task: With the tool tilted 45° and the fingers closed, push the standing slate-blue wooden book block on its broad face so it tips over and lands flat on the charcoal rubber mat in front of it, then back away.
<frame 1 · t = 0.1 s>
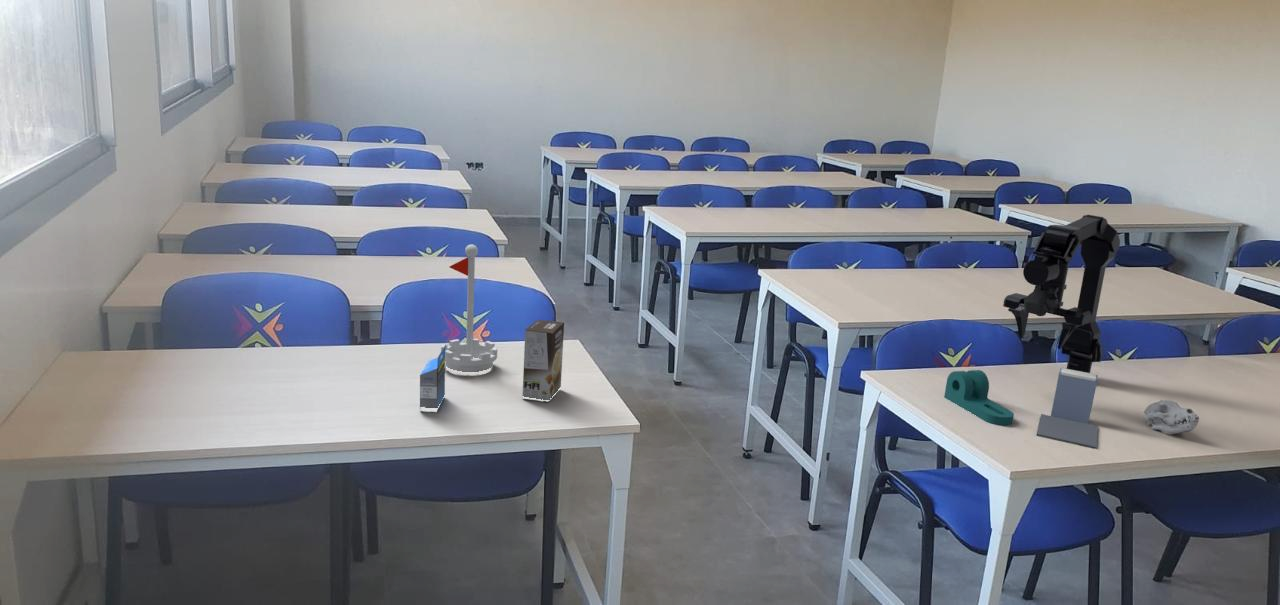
hand: (1040, 343, 222), 15 cm above the table, tool pointing down, fingers open, 9 cm apart
label tape cartridge: (432, 405, 198), on the table
bracket: (979, 412, 217), on the table
mat: (1067, 431, 208), on the table
skull: (1165, 432, 213), on the table
book block: (1069, 418, 216), on the table
coffee box: (541, 395, 208), on the table
flag stand: (469, 369, 221), on the table
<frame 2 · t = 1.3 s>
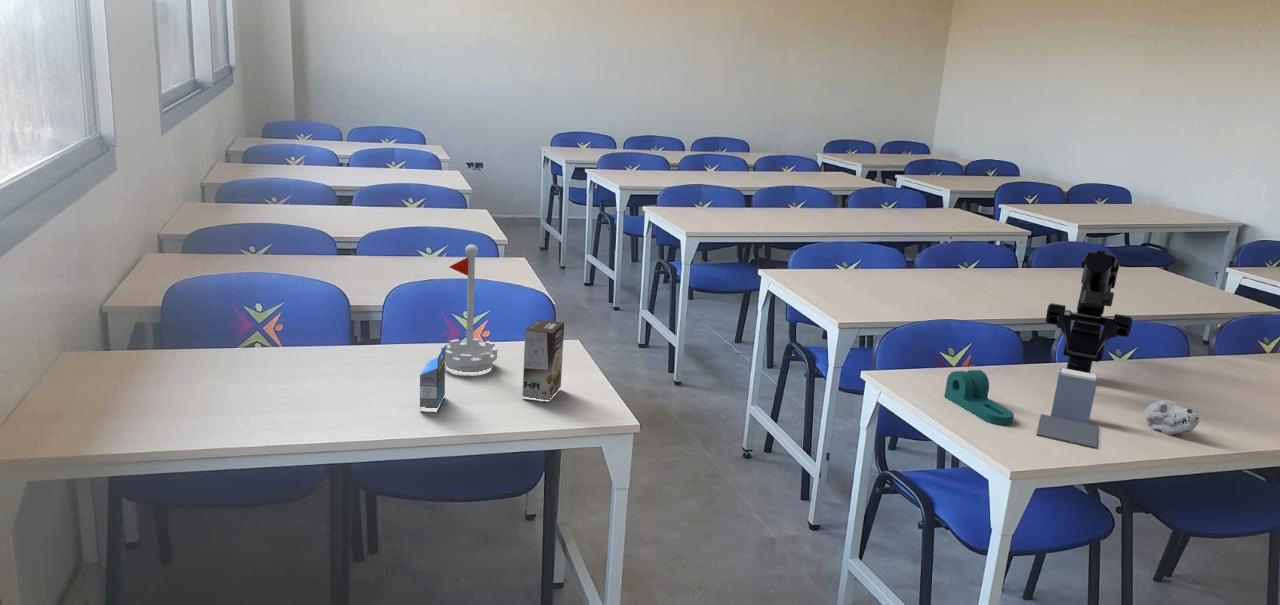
hand: (1082, 349, 224), 14 cm above the table, tool tilted 45°, fingers open, 6 cm apart
nothing on the table moved.
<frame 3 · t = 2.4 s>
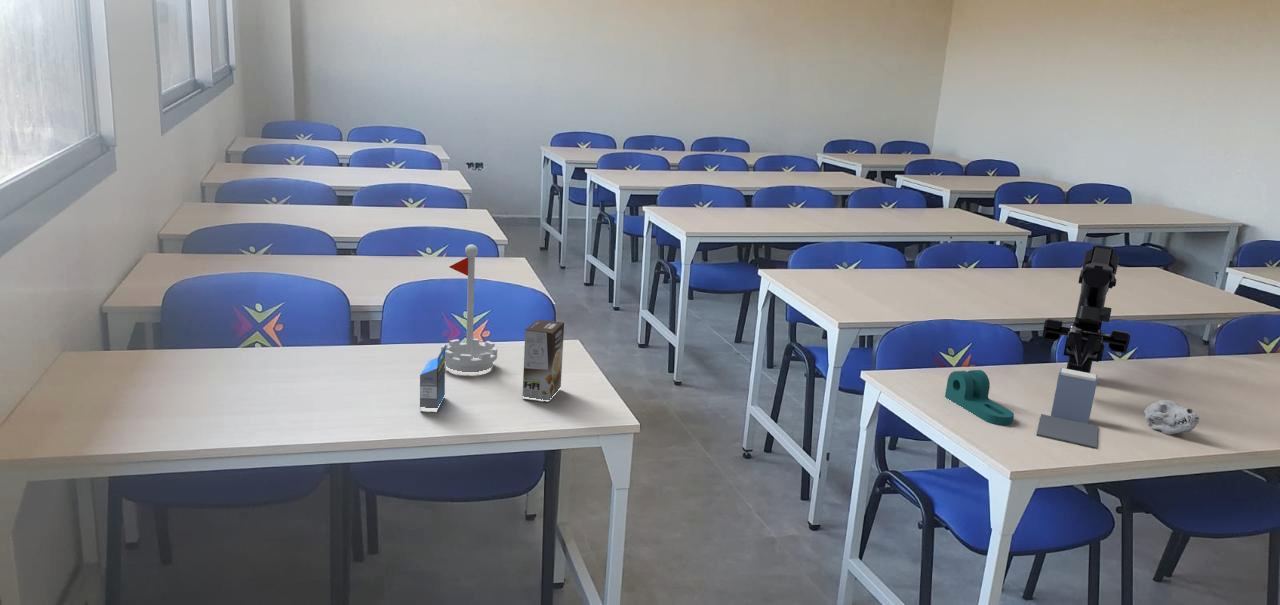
hand: (1079, 365, 220), 11 cm above the table, tool tilted 45°, fingers closed
nothing on the table moved.
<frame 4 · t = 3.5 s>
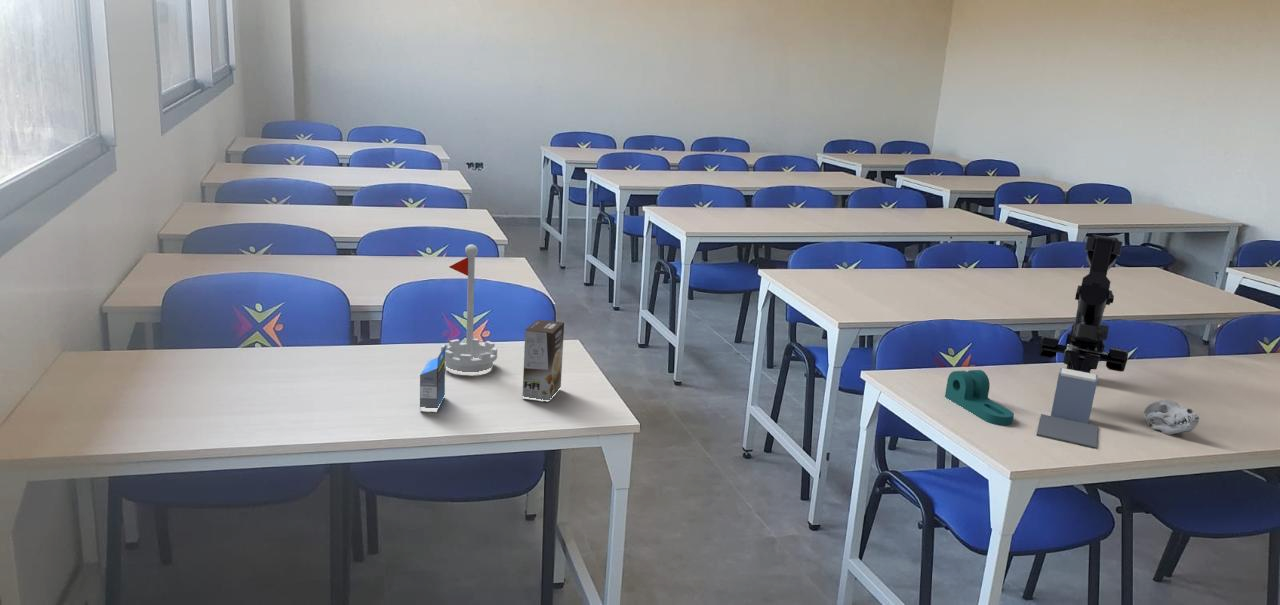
hand: (1076, 384, 216), 8 cm above the table, tool tilted 45°, fingers closed, pressing on book block
book block: (1069, 417, 216), on the table, touching gripper
everything else where it was.
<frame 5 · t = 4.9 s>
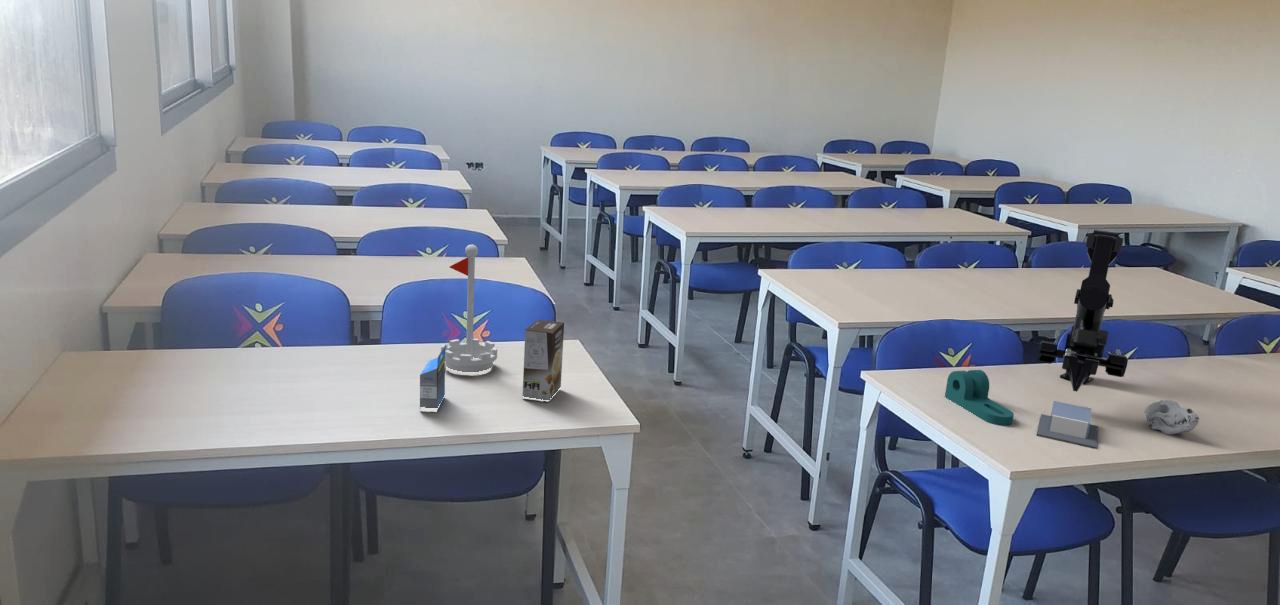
hand: (1075, 390, 212), 8 cm above the table, tool tilted 45°, fingers closed
book block: (1071, 411, 214), point 2 cm above the table, tilted 90°, touching mat
everything else where it was.
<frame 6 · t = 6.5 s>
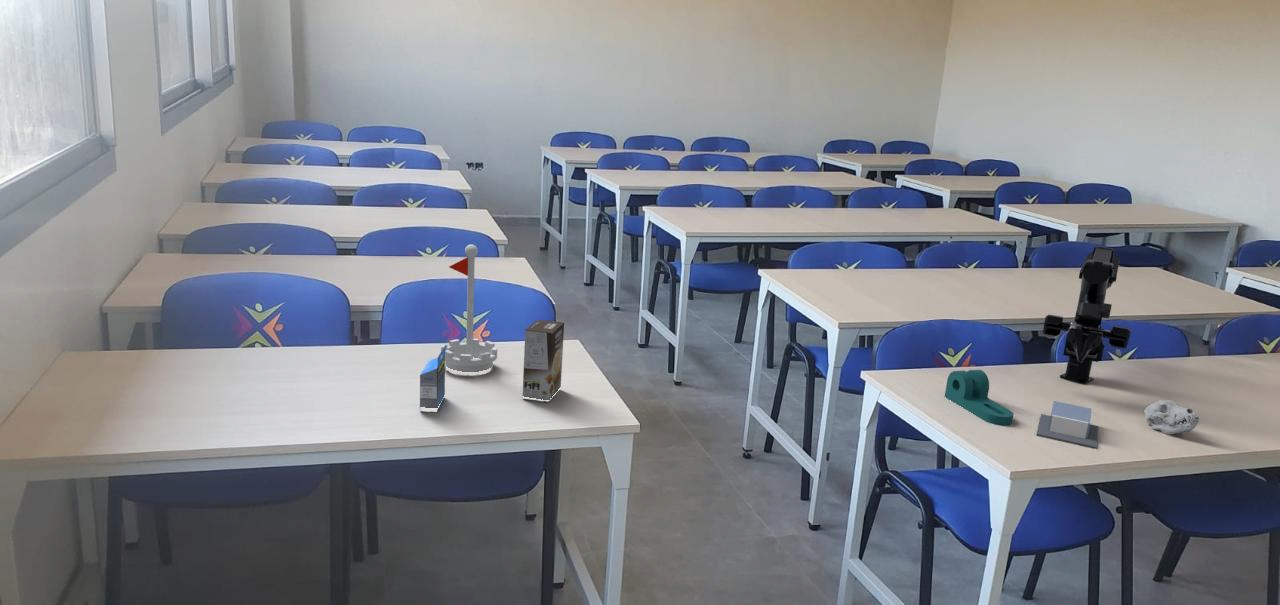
hand: (1080, 361, 222), 11 cm above the table, tool tilted 45°, fingers closed
nothing on the table moved.
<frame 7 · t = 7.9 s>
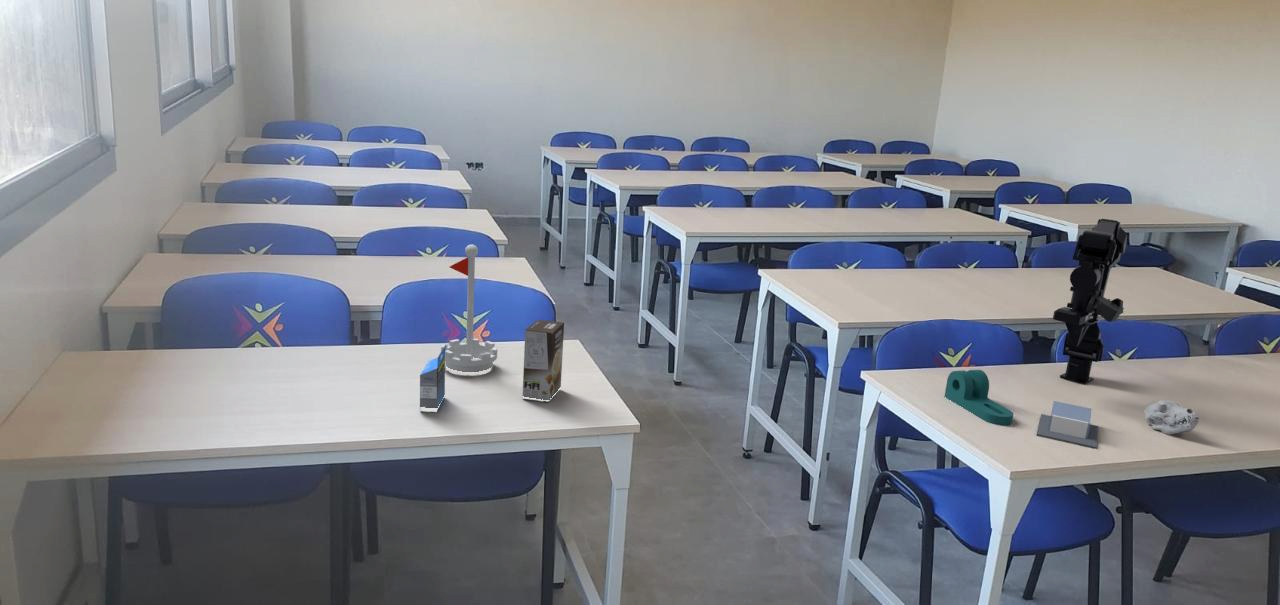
hand: (1075, 346, 227), 13 cm above the table, tool pointing down, fingers closed
nothing on the table moved.
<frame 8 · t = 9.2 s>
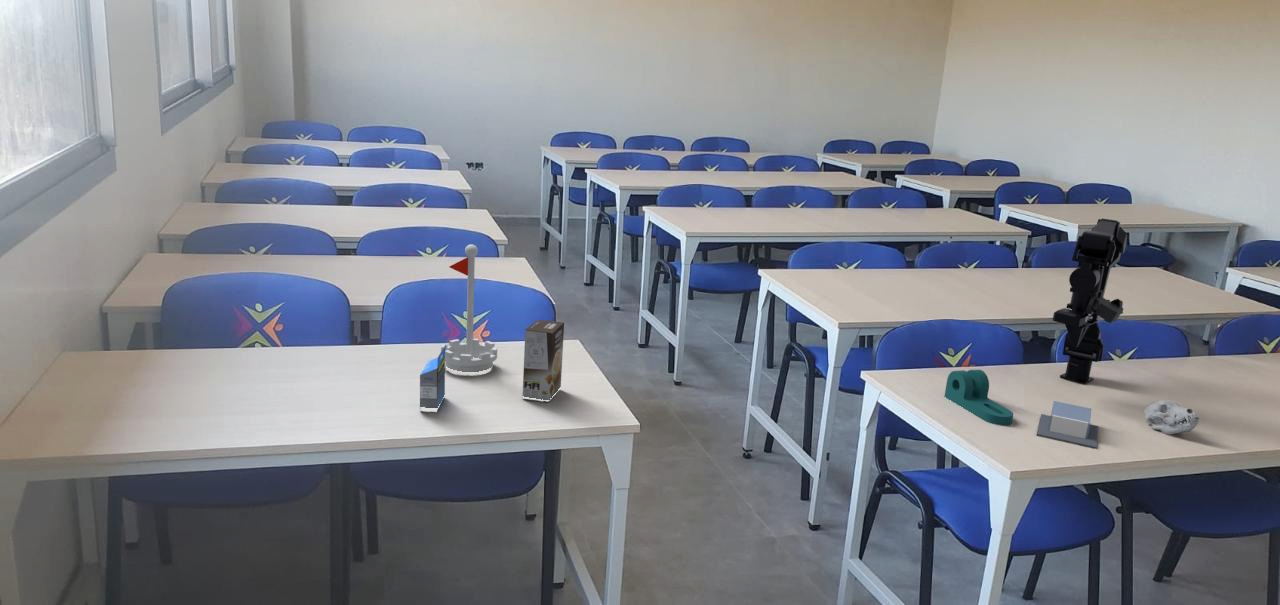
hand: (1074, 346, 227), 13 cm above the table, tool pointing down, fingers closed
nothing on the table moved.
at the end: book block tilted 90°; book block 7.8 cm from the mat (horizontally) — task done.
